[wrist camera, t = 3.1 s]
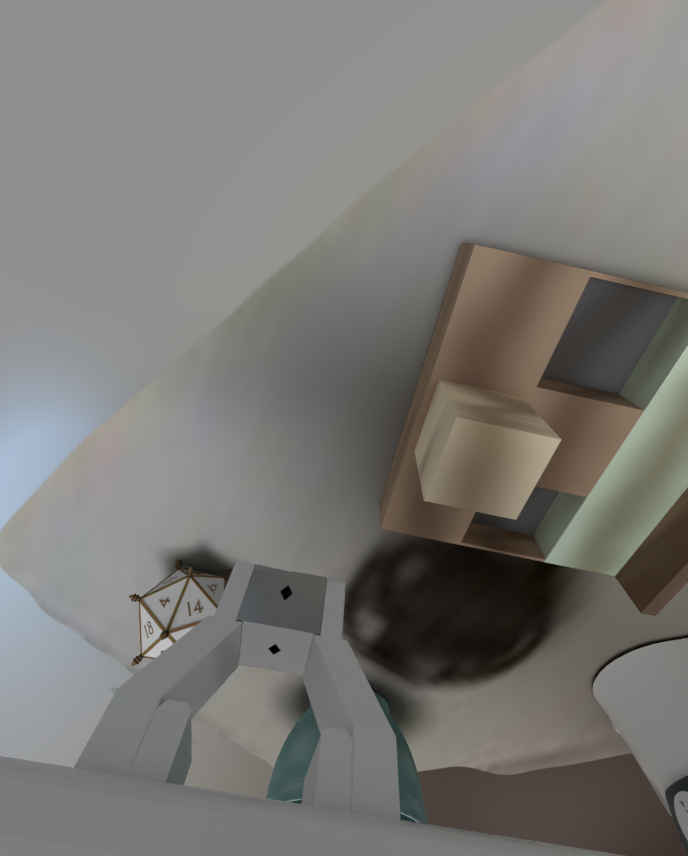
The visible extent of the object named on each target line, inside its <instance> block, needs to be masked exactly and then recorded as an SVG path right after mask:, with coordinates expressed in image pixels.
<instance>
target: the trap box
mask: <svg viewBox="0 0 688 856" xmlns="http://www.w3.org/2000/svg"><path fill="white" fill-rule="evenodd" d="M439 379H441V380H446V381H451V382H455V383H460V384H464V385H469V386H474V387H478V388H483V389H487V390H492V391H497V392H501V393H506V394H510V395H515V396H520V397H523V398H524V399H525V400H526V401H527V403H528V404H529V405H530V406H531V407H532V408H533V409H534V410H535V411H536V412H537V413H538V415H539V416H540V417H541V418H542V419H543V420H544V421H545V422H546V423H547V424H548V425H549V426H550V428H551V429H552V430H553V431H554V432H555V433H556V434H557V435H558V436H559V437H560V438H561V441H560V443H559V445H558V447H557V448H556V450H555V452H554V454H553V456H552V457H551V459H550V461H549V463H548V464H547V466H546V468H545V470H544V472H543V473H542V475H541V477H540V479H539V480H538V482H537V484H536V486H535V487H534V489H533V491H532V493H531V495H530V496H529V498H528V500H527V502H526V503H525V505H524V507H523V509H522V510H521V512H520V514H519V516H518V518H517V519H516V520H514V519H510V518H505V517H500V516H495V515H490V514H485V513H480V512H476V511H471V510H466V509H461V508H456V507H451V506H446V505H442V504H437V503H432V502H427V501H424V499H423V494H422V488H421V483H420V478H419V473H418V467H417V462H416V457H415V452H414V450H415V448H416V445H417V442H418V439H419V436H420V433H421V430H422V427H423V424H424V422H425V419H426V416H427V413H428V410H429V407H430V404H431V401H432V398H433V395H434V393H435V390H436V387H437V384H438V381H439ZM380 529H384V530H389V531H394V532H399V533H404V534H409V535H413V536H418V537H423V538H428V539H433V540H438V541H443V542H448V543H453V544H458V545H463V546H468V547H473V548H478V549H483V550H487V551H492V552H497V553H502V554H507V555H512V556H517V557H522V558H527V559H532V560H537V561H542V562H547V563H552V564H557V565H561V566H566V567H571V568H576V569H581V570H586V571H591V572H596V573H601V574H606V575H611V576H615V577H616V579H617V580H618V581H619V583H620V584H621V586H622V587H623V588H624V590H625V591H626V593H627V594H628V596H629V597H630V598H631V600H632V601H633V603H634V604H635V605H636V607H637V608H638V610H639V611H640V612H641V613H643V614H648V615H653V616H655V615H656V614H657V613H658V612H659V611H660V610H661V609H662V608H663V607H664V606H665V605H666V604H667V603H668V602H669V601H670V600H671V599H672V598H673V597H674V596H675V595H676V594H677V593H678V592H679V590H680V589H681V588H682V587H683V586H684V585H685V584H686V583H687V582H688V293H685V292H681V291H677V290H672V289H668V288H664V287H659V286H655V285H651V284H646V283H642V282H637V281H633V280H629V279H624V278H620V277H616V276H611V275H607V274H603V273H598V272H594V271H589V270H585V269H581V268H576V267H572V266H568V265H563V264H559V263H555V262H550V261H546V260H541V259H537V258H533V257H528V256H524V255H520V254H515V253H511V252H507V251H502V250H498V249H493V248H489V247H485V246H480V245H476V244H467V243H462V244H461V247H460V251H459V254H458V257H457V260H456V263H455V266H454V269H453V273H452V276H451V279H450V282H449V285H448V288H447V292H446V295H445V298H444V301H443V304H442V307H441V310H440V314H439V317H438V320H437V323H436V326H435V329H434V333H433V336H432V339H431V342H430V345H429V348H428V351H427V355H426V358H425V361H424V364H423V367H422V370H421V374H420V377H419V380H418V383H417V386H416V389H415V392H414V396H413V399H412V402H411V405H410V408H409V411H408V415H407V418H406V421H405V424H404V427H403V430H402V433H401V437H400V440H399V443H398V446H397V449H396V452H395V456H394V459H393V462H392V465H391V468H390V471H389V475H388V478H387V481H386V484H385V487H384V490H383V493H382V497H381V500H380Z"/></svg>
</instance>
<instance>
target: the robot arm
mask: <svg viewBox="0 0 688 856" xmlns="http://www.w3.org/2000/svg"><path fill="white" fill-rule="evenodd" d="M344 600H345V582H344V581H342V580H336V579H331V578H326V577H322V576H317V575H311V574H305V573H299V572H293V571H291V572H289V571H284V570H280V569H275V568H270V567H266V566H261V565H256V564H251V563H246V562H241V561H237V563H236V564H235V566H234V568H233V570H232V573H231V575H230V578H229V580H228V583H227V585H226V588H225V590H224V593H223V595H222V598H221V600H220V603H219V605H218V607H217V610H216V612H215V615H214V617H213V616H207V617H206V618H205V619H203V620H202V621H201V622H200V623H198V624H197V625H196V626H195V627H193V628H192V629H191V630H190V631H189V632H187V633H186V634H185V635H184V636H182V637H181V638H180V639H179V640H177V641H176V642H175V643H174V644H172V645H171V646H170V647H169V648H167V649H166V650H165V651H164V652H162V653H161V654H160V655H159V656H157V657H156V658H155V659H154V660H152V661H151V662H150V663H149V664H148V665H146V666H145V667H144V668H143V669H141V670H140V671H139V672H138V673H136V674H135V675H134V676H133V677H131V678H130V679H129V680H128V681H126V682H125V683H124V684H123V685H122V686H120V687H119V688H118V689H117V691H116V692H115V694H114V696H113V698H112V700H111V702H110V703H109V705H108V707H107V709H106V711H105V712H104V714H103V716H102V718H101V720H100V721H99V723H98V725H97V727H96V729H95V730H94V732H93V734H92V736H91V738H90V740H89V741H88V743H87V745H86V747H85V748H84V750H83V752H82V754H81V756H80V757H79V759H78V761H77V763H76V765H75V766H74V768H72V767H66V766H59V765H53V764H47V763H40V762H34V761H28V760H22V759H16V758H9V757H3V756H0V856H623V855H617V854H610V853H604V852H598V851H591V850H586V849H579V848H573V847H567V846H561V845H554V844H548V843H542V842H536V841H529V840H523V839H517V838H511V837H504V836H498V835H492V834H485V833H479V832H473V831H467V830H460V829H453V828H447V827H442V826H435V825H429V824H423V823H417V822H410V821H404V820H400V801H399V783H398V764H397V745H396V736H395V734H394V732H393V730H392V728H391V726H390V724H389V722H388V720H387V718H386V716H385V714H384V712H383V710H382V708H381V706H380V704H379V702H378V700H377V698H376V696H375V694H374V692H373V690H372V688H371V686H370V684H369V682H368V680H367V678H366V676H365V674H364V672H363V670H362V669H361V667H360V665H359V663H358V661H357V659H356V657H355V655H354V653H353V651H352V649H351V647H350V645H349V643H348V641H346V640H342V631H343V615H344ZM238 665H243V666H250V667H257V668H264V669H271V670H276V671H280V672H285V673H290V674H295V675H300V676H303V681H304V684H305V687H306V690H307V693H308V697H309V700H310V703H311V706H312V709H313V712H314V715H315V718H316V722H317V725H318V728H319V731H320V734H321V736H320V739H319V741H318V744H317V747H316V750H315V752H314V755H313V758H312V760H311V763H310V766H309V769H308V771H307V774H306V777H305V780H304V788H303V796H302V804H298V803H291V802H285V801H279V800H273V799H266V798H260V797H254V796H247V795H241V794H235V793H229V792H222V791H216V790H209V789H204V788H197V787H191V786H185V785H184V783H185V780H186V777H187V773H188V770H189V767H190V764H191V719H192V717H193V716H194V715H195V714H196V713H197V712H198V711H199V710H200V709H201V707H202V706H203V705H204V704H205V703H206V702H207V701H208V700H209V699H210V697H211V696H212V695H213V694H214V693H215V692H216V691H217V690H218V688H219V687H220V686H221V685H222V684H223V683H224V682H225V681H226V680H227V678H228V677H229V676H230V675H231V674H232V673H233V672H234V671H235V669H236V668H237V667H238ZM593 695H594V697H595V699H596V701H597V702H598V703H599V705H600V706H601V707H602V708H603V710H604V711H605V712H606V714H607V715H608V716H609V718H610V721H611V723H612V725H613V727H614V728H615V730H616V732H617V733H619V734H620V735H621V736H622V737H623V739H624V740H625V742H626V743H627V745H628V747H629V748H630V750H631V752H632V753H633V755H634V756H635V758H636V760H637V761H638V763H639V765H640V766H641V768H642V770H643V771H644V773H645V775H646V776H647V778H648V779H649V781H650V783H651V784H652V786H653V788H654V789H655V791H656V793H657V794H658V796H659V798H660V799H661V801H662V803H663V804H664V806H665V807H666V809H667V811H668V812H669V813H670V815H671V816H672V818H673V820H674V823H675V825H676V828H677V831H678V834H679V839H680V841H681V843H682V845H683V847H684V849H685V851H686V853H687V855H688V638H684V639H679V640H672V641H666V642H661V643H656V644H652V645H649V646H645V647H642V648H639V649H637V650H634V651H632V652H629V653H627V654H625V655H623V656H621V657H619V658H618V659H616V660H614V661H613V662H611V663H610V664H609V665H607V666H606V667H605V668H604V669H603V670H602V671H601V672H600V673H599V674H598V676H597V677H596V679H595V681H594V684H593Z"/></svg>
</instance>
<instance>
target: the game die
mask: <svg viewBox="0 0 688 856" xmlns="http://www.w3.org/2000/svg"><path fill="white" fill-rule="evenodd" d="M175 566H176V567H175V568H177V570H176V571H175V572H174V573H172V574H171V575H170V576H168V577H167V578H166V579H164V580H163V581H162V582H160V583H159V584H158V585H157V586H155V587H154V588H153V589H151V590H150V591H149V592H147V593H146V594H145V595H143V596H142V597H140V596H139V595H136V594H134V595H131V596H129V597H130V598H131V601H135V602H136V601H139V619H140V644H141V654H140V655H139V656H136V658H135V659H134V660H133V663H132V665H131V666H133V665H136V664H138V663H139V662H141V660H142V658H144V657H145V658H150V659H155V658H156V657H157V656H159V655H160V654H161V653H162V652H164V651H165V650H166V649H167V648H169V647H170V646H171V645H172V644H174V643H175V642H176V641H177V640H179V639H180V638H181V637H182V636H184V635H185V634H186V633H187V632H189V631H190V630H191V629H192V628H193V627H195V626H196V625H197V624H198V623H200V622H201V621H202V620H203V619H205V618H206V617H207V616H213V617H214V615H215V612H216V610H217V607H218V605H219V603H220V600H221V598H222V595H223V593H224V590H225V588H226V585H227V584H226V579H227V578H230V575H231V573H232V571H227V573H225V576H218V575H213V574H208V573H202V572H197V571H194V569H193V568H191V567H190V568H189V569H181V567H182V566H181V562H179V561H178V560H177V562H176V564H175Z"/></svg>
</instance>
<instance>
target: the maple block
mask: <svg viewBox="0 0 688 856" xmlns="http://www.w3.org/2000/svg"><path fill="white" fill-rule="evenodd" d="M560 441H561V438H560V437H559V436H558V435H557V434H556V433H555V432H554V431H553V430H552V429H551V428H550V426H549V425H548V424H547V423H546V422H545V421H544V420H543V419H542V418H541V417H540V416H539V415H538V413H537V412H536V411H535V410H534V409H533V408H532V407H531V406H530V405H529V404H528V403H527V401H526V400H525V399H524V398H523V397H520V396H515V395H510V394H506V393H501V392H497V391H492V390H487V389H483V388H478V387H474V386H469V385H464V384H460V383H455V382H451V381H446V380H441V379H439V381H438V384H437V387H436V390H435V393H434V395H433V398H432V401H431V404H430V407H429V410H428V413H427V416H426V419H425V422H424V424H423V427H422V430H421V433H420V436H419V439H418V442H417V445H416V448H415V450H414V452H415V457H416V462H417V467H418V473H419V478H420V483H421V488H422V494H423V499H424V501H427V502H432V503H437V504H442V505H446V506H451V507H456V508H461V509H466V510H471V511H476V512H480V513H485V514H490V515H495V516H500V517H505V518H510V519H514V520H516V519H517V518H518V516H519V514H520V512H521V510H522V509H523V507H524V505H525V503H526V502H527V500H528V498H529V496H530V495H531V493H532V491H533V489H534V487H535V486H536V484H537V482H538V480H539V479H540V477H541V475H542V473H543V472H544V470H545V468H546V466H547V464H548V463H549V461H550V459H551V457H552V456H553V454H554V452H555V450H556V448H557V447H558V445H559V443H560Z"/></svg>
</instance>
